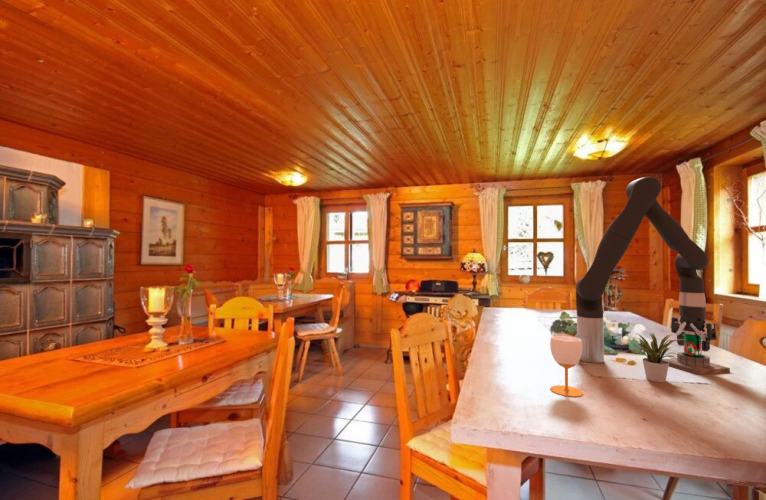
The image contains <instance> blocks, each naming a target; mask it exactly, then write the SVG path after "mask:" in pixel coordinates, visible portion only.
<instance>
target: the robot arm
mask: <svg viewBox="0 0 766 500" xmlns="http://www.w3.org/2000/svg"><path fill="white" fill-rule="evenodd" d="M661 189H662V185H661V182H660V180H659V179H658V178H656V177H653V176H644V177H640V178H637V179H634V180H632V181H631V182H630V183H628V184H627V186H626V189H625V194H626V197H627V199H628V200H627V202H626V204H625V206H624V208H623V209H622V211H620V213H619V214H618V215H617V216H616V218H615V219H613V220H612V222H611V223H610V225H609V226H608V228H606V230H605V232H604V234H603V236H602V238H601V239H600V241H599V244H598V246H597V248H596V249H597V250H596V253H595V256H594V259H593V262H592V264H591V266H590V267H589V268H588V270H587V271H586V273H585V275H584V276H582V277H581V278H579V279H578V280H577V281H576V285H575V300H576V301H575V305H576V306H575V307H576V334H575V335H574V337H576V338H579V339H581V340H582V355H581V358H580V360H579V361H582V362H584V363H595V364H597V363H598V364H599V363H604V362H605V346H604V345H605V340H604V336H605V334H604V333H605V332H604V330H605V327H604V308H603V295H604V293H605V290H606V288H607V285H608V282H609V280H610V277H611V275H612V273H613V272H614V269H616V267H617V266H618V264H619V263H620V262H621V260H622V258H623V256H624V254H625V252H627V250H628V248H629V246H630V244H631V242H632V240H633V239H634V236H635V235H636V233H637V231H638V229H639V227H640V225H641V223H642V222H643V219H644V218H645V217H646V219H648V221H649V222H650V223H651V225H652V226H653V227H654V228H655V230H656V231H657V233H658V234H659V235H660V237H661V239H662V240H663V242H664V243H665V245H666V246H667V247H668V249H670V250H672V251H675V252H677V253H678V254H677V255H676V257H675V259H674V266H675V270H676V275H677V277H678V280H679V296H678V311H679V312H678V314H679V317H677V316H676V317H675V316H674V317H672V318H671V327H670V329H671V330H670V331H671V333H674V334H675V336H676V340H677V341H676V343H677V345H678V346H680V347H681V346H683V347H684V340H678V339H684V335H683V333H684V332H685V330H687V331H692V332H696V333H697V335H699V336H700V337H701V339H702V352H709V351H710V349H711V341H717V330H716V329H717V327H716V323H714V322H706V320H705V319H706V318H707V310H706V309H707V306H706V304H707V303H706V301H707V300H706V296H705V281H704V278H703V277H701V276H699V275H698V271H701V270H704V269H705V268H706V267H707V266H709V257H708V255H707V254H706V252H705V251H704V250H703V249H702V248H701V247H700V246H699V245H698V244H697V243H695V242H694V241H693V240H692V239H691V238H690V237H689V235H688V233H687V232H686V231H685V229H684V228H683V227H682V225H681V224H680V223H679V222H678V221H677V219H675V218H674V217H673V216H672V215H671V214H669V213H668V212H667V211H666V210H665V209H664V207H662V205H661V204H660V203H659V200H657V199H658V197H659V195H660V194H661V191H662V190H661ZM680 324H681V325H680Z"/></svg>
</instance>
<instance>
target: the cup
mask: <svg viewBox="0 0 766 500" xmlns="http://www.w3.org/2000/svg"><path fill="white" fill-rule="evenodd" d="M549 345H550V352H551V356H552V358H553V360H554V361H555V362H556V363H557V365H559V366H560V367H563V368H564V385H560V384H559V385H558V384H557V385H552V386H551V387H550V390H551V392H552V393H554V394H556V395H559V396H562V397H563V396H564V397H568V398H578V397H579V398H580V397H582V396H584V391H582V390H581V389H579V388H577V387H574V386H570V385H569V369H570V368H573V367H575V366H577V365H578V364H579V362H580V361H581V360H580V358H581V355H582V340H581V339H579V338H576V337H575V336H572V335H571V336H569V335H553V336H551V337H550V343H549Z"/></svg>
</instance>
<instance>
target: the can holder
mask: <svg viewBox="0 0 766 500" xmlns="http://www.w3.org/2000/svg"><path fill="white" fill-rule="evenodd" d="M676 354H677V355H676V357H671V358H662V360H665V361H667V362H669V366H668V367H671V368H676V369H677V370H682V371H685V372H688V373H692V374H694V375H699V376H700V375H713V374H725V373H730V372H731V368H730V367H727V366H724V365H720V364H716V363H712V362H711V358H710V356H708V355H705V354H702V358H696V357H689V356H685V355H684V351H683V352H682V351H679V352H676Z"/></svg>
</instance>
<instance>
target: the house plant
mask: <svg viewBox="0 0 766 500" xmlns="http://www.w3.org/2000/svg"><path fill="white" fill-rule="evenodd" d="M645 331H646V330H645ZM646 332H647V333H648V331H646ZM635 333H636V332H635ZM636 335H638V336H639V337H640V338H639V337H637V339H638V340H639V344H640V346H635V348H636V349H639V350H641V351H643V352H645V353H646V354H645V353H643V352H641V351H637V353H638V354H639V353H640V354H642V355H644V356H646V357H644V358H642V363H643V367H644V373H645V378H646V379H647V380H648V381H652V382H655V383H657V382H658V383H666V381H667V376H668V370H669V367H670V366H669V362H667V361H665V360H662V359H665V357H667V358H668V357H669V358H670V357H671V358H675V356H674V355H676V356H677V352H668V351H669V350H670V349H672V348H673V347H669V346H670V345H671V344H672V343H674V342H677V339H669V338H670V337H671V336H672V334H669V335H668V334H667V335H665V336H664V337H663V338H662V340H661V341H660V343H659V346H658V339H657V338H656V335H655V333H654V332H652V333H651V332H649V336H650V337H651V339H652V340H651V341H650V344H649V342H648V340H647V339H646V338H644V337H643V336H642V335H641V334H639V333H636ZM634 337H635V338H636V336H634ZM678 340H685V339H678ZM667 352H668V353H667ZM670 354H674V355H670Z"/></svg>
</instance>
